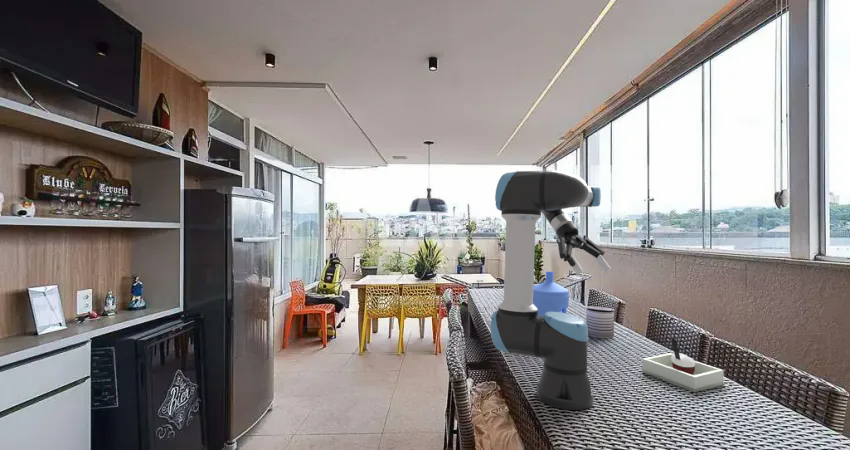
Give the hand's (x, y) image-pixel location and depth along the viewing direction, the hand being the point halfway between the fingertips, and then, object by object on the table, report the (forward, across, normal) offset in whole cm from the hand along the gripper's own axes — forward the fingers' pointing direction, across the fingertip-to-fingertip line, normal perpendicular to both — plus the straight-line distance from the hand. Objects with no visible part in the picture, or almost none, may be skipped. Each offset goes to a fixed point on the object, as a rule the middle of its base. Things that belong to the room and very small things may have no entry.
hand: (594, 271), depth 146 cm
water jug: (+4, -3, -41) cm, 41 cm away
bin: (+39, -13, -6) cm, 42 cm away
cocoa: (+38, -13, -5) cm, 41 cm away
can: (+7, -28, -38) cm, 48 cm away
